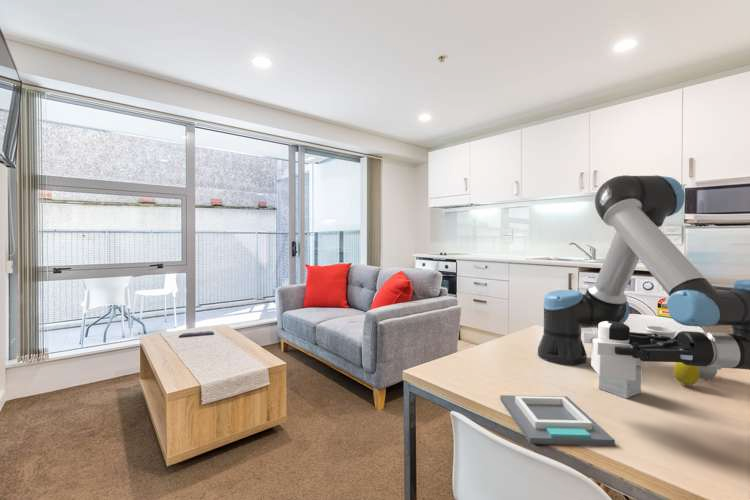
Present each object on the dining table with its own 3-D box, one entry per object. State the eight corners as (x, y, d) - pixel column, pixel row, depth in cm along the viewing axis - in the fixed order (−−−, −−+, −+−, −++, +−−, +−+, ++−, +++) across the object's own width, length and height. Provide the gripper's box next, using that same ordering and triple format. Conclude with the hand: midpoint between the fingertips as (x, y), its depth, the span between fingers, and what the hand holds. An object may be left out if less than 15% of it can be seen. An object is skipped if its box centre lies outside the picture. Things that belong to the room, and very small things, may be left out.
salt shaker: (722, 381, 101) (724, 337, 100) (699, 379, 102) (701, 336, 101) (707, 373, 107) (709, 332, 106) (686, 372, 108) (687, 331, 107)
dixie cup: (672, 355, 123) (673, 327, 122) (677, 362, 116) (678, 333, 115) (643, 351, 127) (644, 324, 127) (646, 358, 120) (647, 329, 120)
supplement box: (627, 399, 90) (628, 352, 89) (597, 388, 96) (598, 344, 96) (641, 393, 93) (643, 347, 93) (612, 383, 100) (613, 340, 99)
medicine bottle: (624, 369, 83) (626, 320, 83) (636, 381, 76) (638, 328, 76) (590, 365, 85) (592, 318, 85) (599, 377, 79) (600, 325, 78)
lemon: (667, 382, 100) (668, 355, 100) (685, 381, 101) (686, 354, 100) (686, 390, 95) (687, 362, 94) (704, 389, 95) (705, 361, 95)
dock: (500, 399, 90) (500, 389, 90) (566, 401, 89) (567, 390, 89) (529, 443, 71) (530, 430, 71) (614, 445, 70) (614, 432, 70)
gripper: (740, 385, 67) (608, 375, 72) (673, 350, 87) (574, 344, 92) (742, 347, 66) (610, 339, 71) (674, 321, 86) (575, 316, 91)
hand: (590, 342), depth 82 cm, fingers closed on medicine bottle, 8 cm apart
